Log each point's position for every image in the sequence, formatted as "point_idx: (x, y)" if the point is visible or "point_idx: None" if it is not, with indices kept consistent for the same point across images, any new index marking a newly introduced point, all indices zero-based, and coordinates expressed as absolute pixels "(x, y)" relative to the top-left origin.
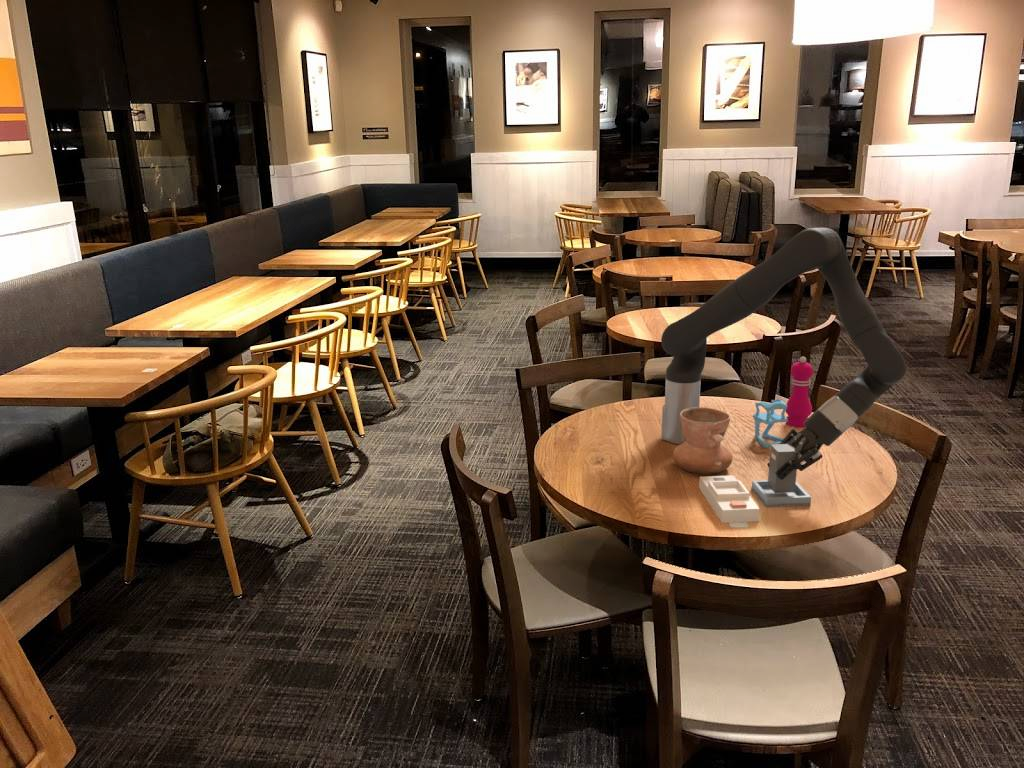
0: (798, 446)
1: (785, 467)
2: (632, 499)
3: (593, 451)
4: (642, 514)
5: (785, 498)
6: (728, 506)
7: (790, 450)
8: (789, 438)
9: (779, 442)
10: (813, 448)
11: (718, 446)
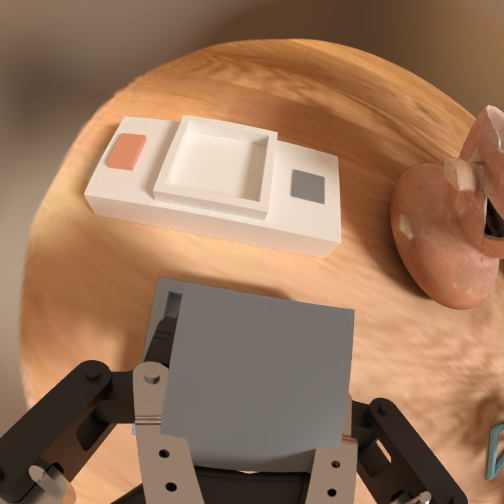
0: (178, 482)
1: (165, 350)
2: (286, 71)
3: (454, 127)
4: (224, 62)
5: (145, 342)
6: (134, 132)
7: (189, 407)
8: (409, 478)
9: (494, 460)
10: (5, 490)
11: (466, 238)
